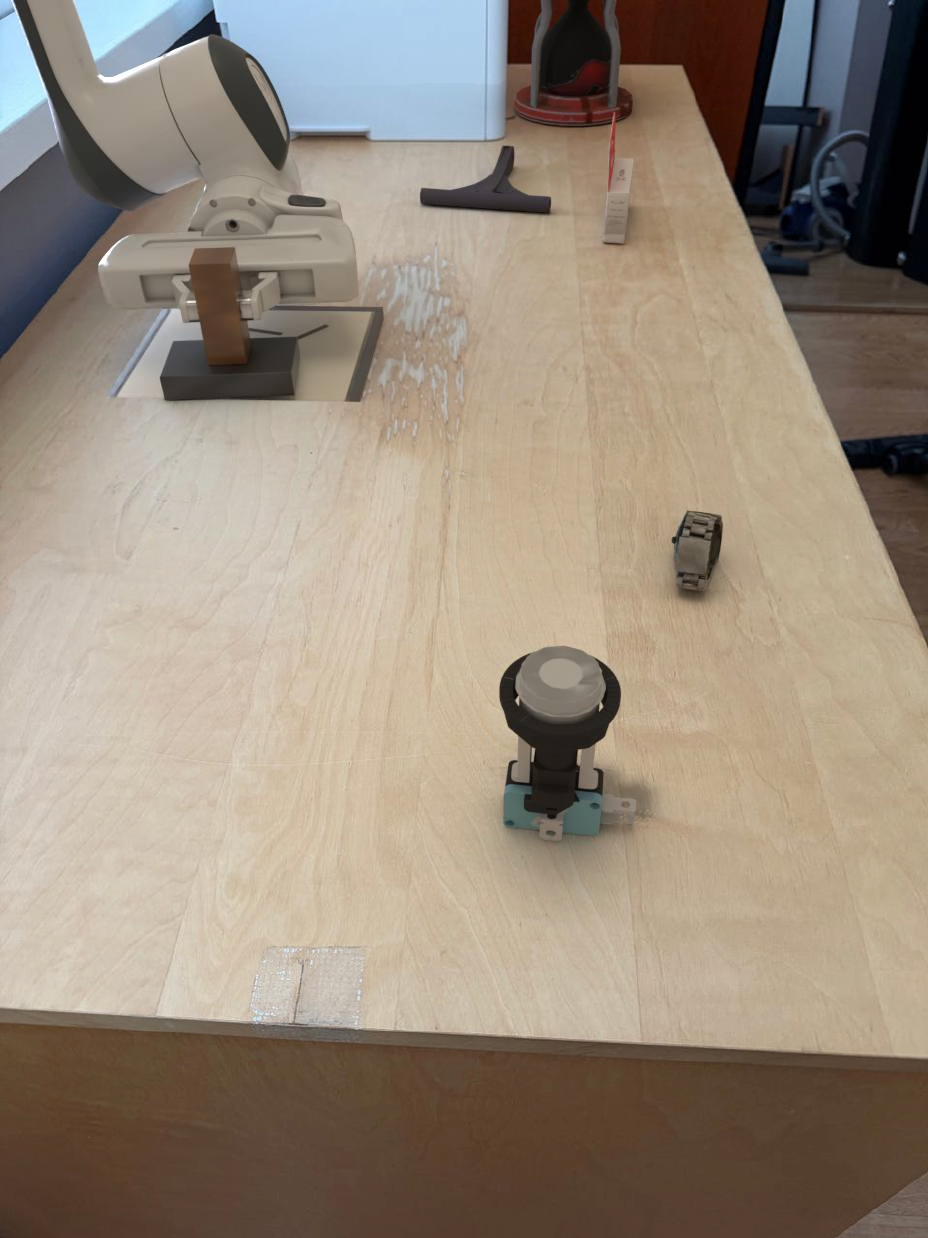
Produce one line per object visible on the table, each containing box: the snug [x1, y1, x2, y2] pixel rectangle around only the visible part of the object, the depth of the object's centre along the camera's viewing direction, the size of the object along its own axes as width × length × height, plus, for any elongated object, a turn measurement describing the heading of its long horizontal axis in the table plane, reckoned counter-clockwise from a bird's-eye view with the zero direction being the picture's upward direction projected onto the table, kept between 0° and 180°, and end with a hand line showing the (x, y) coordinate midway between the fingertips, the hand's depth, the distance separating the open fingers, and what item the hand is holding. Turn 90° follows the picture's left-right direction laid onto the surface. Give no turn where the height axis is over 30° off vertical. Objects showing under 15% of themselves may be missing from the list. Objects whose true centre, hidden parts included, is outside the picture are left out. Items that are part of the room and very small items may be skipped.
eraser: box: [159, 247, 300, 401], centre depth 79 cm, size 10×6×10 cm, turn 92°
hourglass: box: [513, 0, 634, 127], centre depth 134 cm, size 16×16×25 cm
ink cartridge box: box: [602, 112, 635, 245], centre depth 107 cm, size 2×11×10 cm, turn 171°
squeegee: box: [419, 145, 552, 214], centre depth 119 cm, size 14×15×3 cm
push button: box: [498, 645, 637, 842], centre depth 48 cm, size 7×5×10 cm
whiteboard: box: [105, 305, 384, 403], centre depth 86 cm, size 20×22×1 cm
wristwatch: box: [671, 509, 724, 592], centre depth 64 cm, size 3×5×5 cm
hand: (220, 312), depth 78 cm, fingers closed on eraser, 3 cm apart
